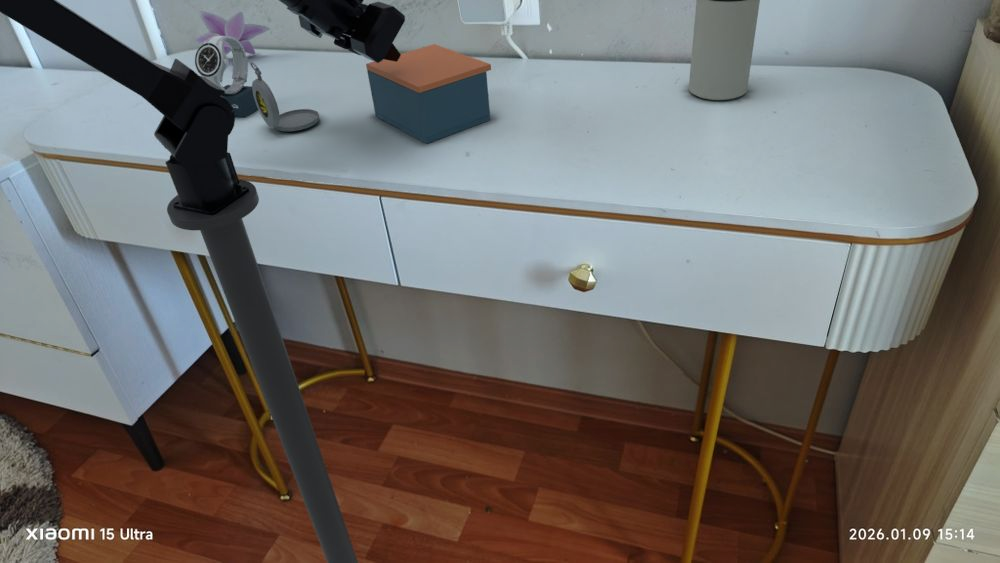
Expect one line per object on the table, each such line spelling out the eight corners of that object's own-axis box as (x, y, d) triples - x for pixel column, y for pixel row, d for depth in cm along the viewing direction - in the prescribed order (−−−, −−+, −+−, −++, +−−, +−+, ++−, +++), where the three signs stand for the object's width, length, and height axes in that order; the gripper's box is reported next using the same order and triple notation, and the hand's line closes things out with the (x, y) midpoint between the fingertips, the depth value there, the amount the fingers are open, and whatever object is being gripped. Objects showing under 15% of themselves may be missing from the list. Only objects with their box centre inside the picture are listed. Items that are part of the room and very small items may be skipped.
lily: (286, 61, 127) (269, 9, 126) (247, 55, 116) (227, -2, 115) (235, 82, 131) (217, 32, 130) (192, 79, 120) (172, 23, 118)
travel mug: (712, 106, 94) (728, -37, 83) (677, 88, 100) (687, -47, 89) (759, 93, 96) (780, -47, 85) (721, 77, 102) (737, -56, 91)
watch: (206, 119, 103) (181, 45, 97) (240, 100, 109) (219, 29, 103) (237, 122, 101) (213, 47, 95) (269, 102, 107) (249, 30, 101)
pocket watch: (329, 116, 100) (313, 47, 95) (297, 141, 94) (278, 68, 88) (281, 113, 103) (263, 46, 97) (247, 136, 97) (226, 66, 91)
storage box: (436, 95, 104) (430, 50, 100) (490, 120, 95) (486, 71, 91) (375, 116, 99) (366, 69, 95) (426, 143, 90) (419, 93, 86)
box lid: (435, 49, 101) (434, 43, 100) (491, 70, 92) (490, 64, 91) (366, 69, 95) (365, 63, 95) (419, 93, 86) (418, 87, 86)
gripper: (375, -72, 72) (470, 15, 83) (300, -85, 84) (392, -8, 96) (323, 22, 72) (424, 96, 84) (256, -4, 85) (352, 63, 96)
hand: (397, 57), depth 90 cm, fingers closed
